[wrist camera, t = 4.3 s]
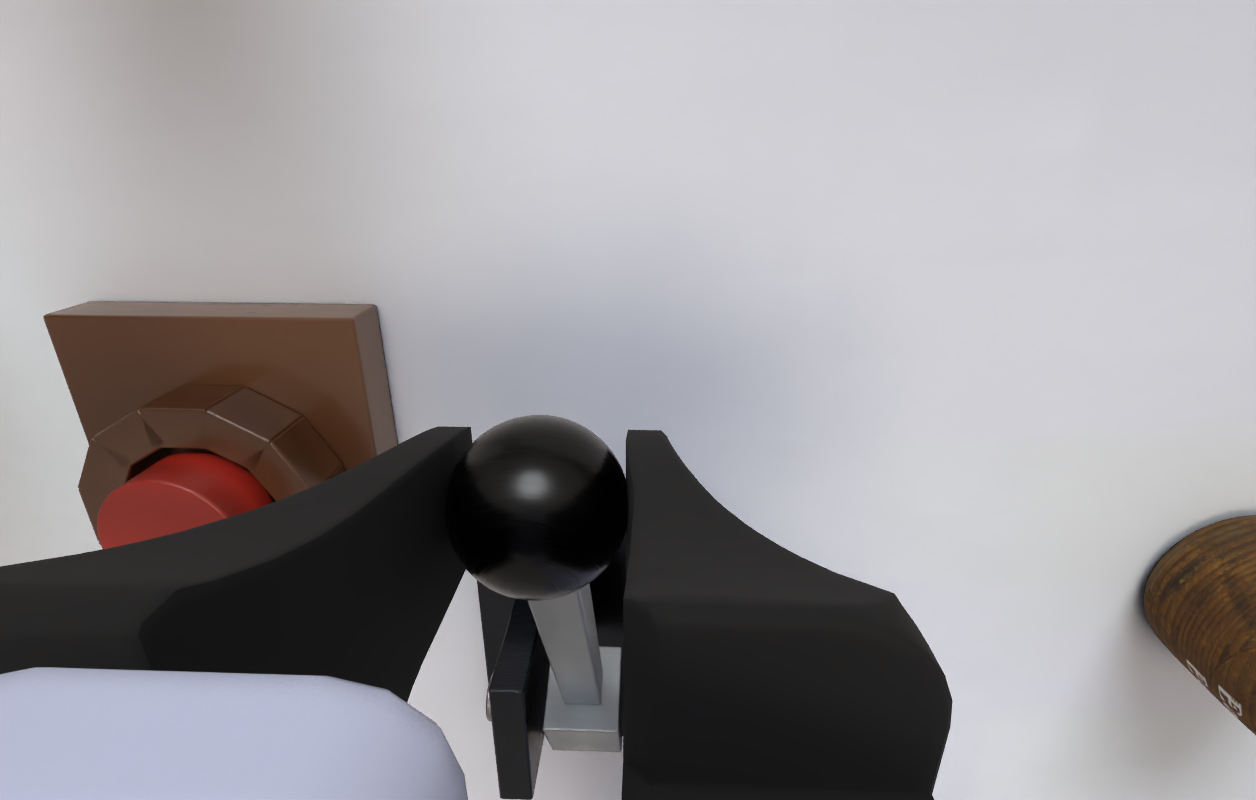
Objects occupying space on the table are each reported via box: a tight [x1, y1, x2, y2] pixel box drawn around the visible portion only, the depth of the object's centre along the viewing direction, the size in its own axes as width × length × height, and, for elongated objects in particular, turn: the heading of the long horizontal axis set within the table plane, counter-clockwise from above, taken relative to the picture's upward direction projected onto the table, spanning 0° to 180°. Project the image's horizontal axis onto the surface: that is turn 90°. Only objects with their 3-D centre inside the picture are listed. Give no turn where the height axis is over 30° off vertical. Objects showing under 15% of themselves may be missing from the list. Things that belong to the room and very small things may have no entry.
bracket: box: [477, 533, 626, 800], centre depth 21 cm, size 10×8×6 cm
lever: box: [445, 415, 628, 752], centre depth 15 cm, size 15×3×3 cm, turn 0°
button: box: [97, 452, 274, 549], centre depth 18 cm, size 4×4×2 cm
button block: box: [44, 302, 397, 545], centre depth 20 cm, size 11×9×4 cm
